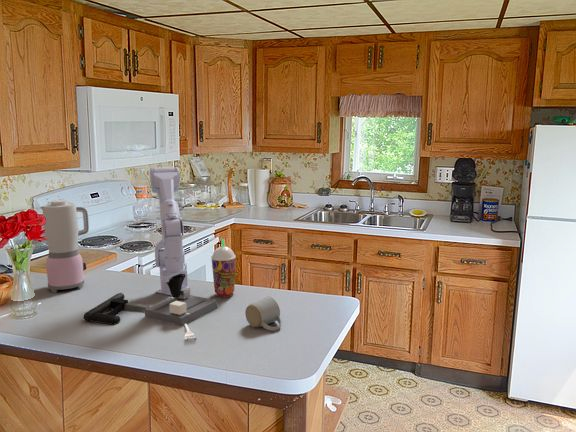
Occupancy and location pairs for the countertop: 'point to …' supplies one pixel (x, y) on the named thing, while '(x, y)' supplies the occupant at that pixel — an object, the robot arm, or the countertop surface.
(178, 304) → the block
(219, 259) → the smoothie
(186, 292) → the steel fader
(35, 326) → the countertop surface
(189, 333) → the fork
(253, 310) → the ceramic mug
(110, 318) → the gun
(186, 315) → the gray slider board
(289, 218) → the countertop surface
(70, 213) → the blender
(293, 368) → the countertop surface
